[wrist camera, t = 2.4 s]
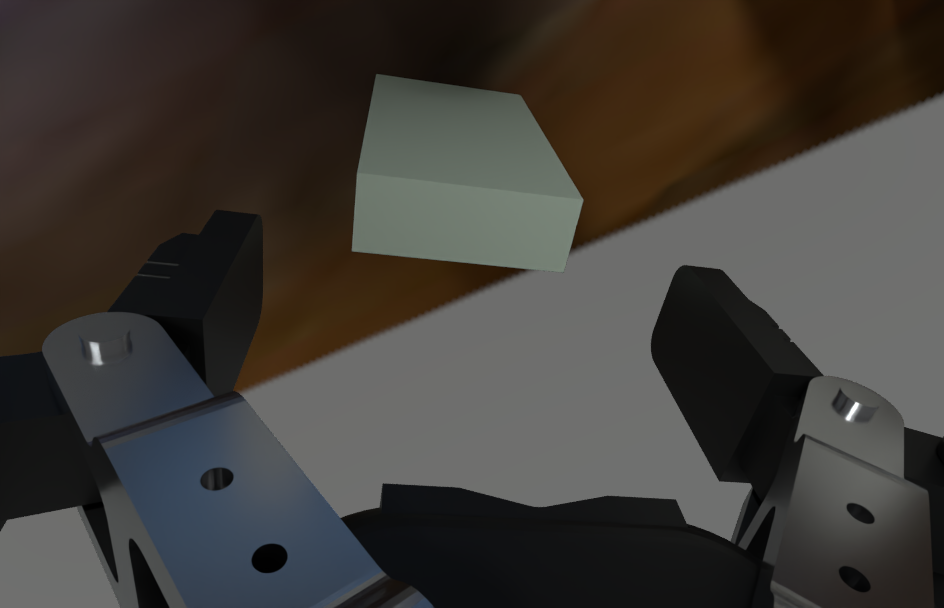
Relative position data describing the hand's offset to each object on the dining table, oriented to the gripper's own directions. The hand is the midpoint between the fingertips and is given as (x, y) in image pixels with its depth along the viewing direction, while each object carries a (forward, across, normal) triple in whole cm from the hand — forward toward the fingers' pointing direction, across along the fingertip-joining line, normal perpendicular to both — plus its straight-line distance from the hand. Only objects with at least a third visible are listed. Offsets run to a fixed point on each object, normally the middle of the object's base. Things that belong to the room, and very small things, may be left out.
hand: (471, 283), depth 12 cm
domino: (+11, 0, 0) cm, 11 cm away
